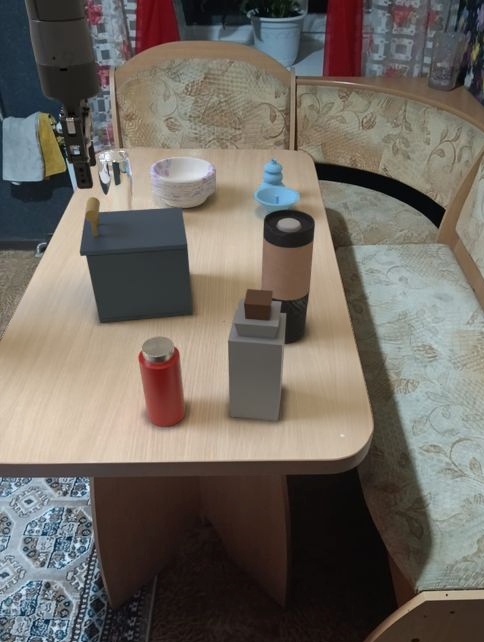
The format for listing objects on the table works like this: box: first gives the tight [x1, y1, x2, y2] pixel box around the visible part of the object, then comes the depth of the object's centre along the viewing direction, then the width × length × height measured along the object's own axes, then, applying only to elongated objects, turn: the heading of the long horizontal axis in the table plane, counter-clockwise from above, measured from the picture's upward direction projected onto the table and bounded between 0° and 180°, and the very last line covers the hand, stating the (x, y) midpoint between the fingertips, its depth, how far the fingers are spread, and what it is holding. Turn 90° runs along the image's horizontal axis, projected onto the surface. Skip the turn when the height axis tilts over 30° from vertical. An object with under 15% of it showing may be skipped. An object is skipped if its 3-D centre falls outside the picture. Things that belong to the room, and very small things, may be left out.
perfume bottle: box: [227, 288, 286, 422], centre depth 72 cm, size 7×7×18 cm
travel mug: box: [260, 209, 316, 344], centre depth 85 cm, size 8×8×20 cm
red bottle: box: [137, 336, 186, 428], centre depth 72 cm, size 5×5×12 cm
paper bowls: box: [149, 156, 217, 209], centre depth 127 cm, size 15×15×8 cm
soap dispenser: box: [253, 158, 301, 214], centre depth 125 cm, size 18×10×9 cm, turn 5°
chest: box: [85, 248, 193, 324], centre depth 94 cm, size 16×14×13 cm
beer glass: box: [95, 149, 135, 212], centre depth 115 cm, size 7×7×15 cm
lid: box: [79, 196, 189, 257], centre depth 88 cm, size 16×14×5 cm
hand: (87, 176), depth 82 cm, fingers open, 8 cm apart
